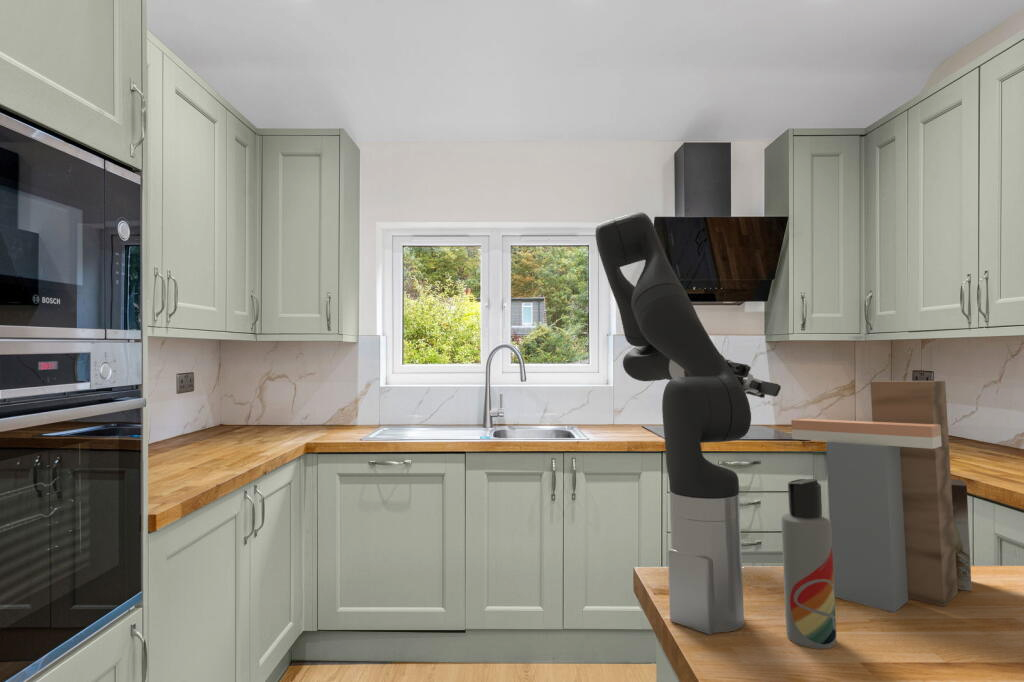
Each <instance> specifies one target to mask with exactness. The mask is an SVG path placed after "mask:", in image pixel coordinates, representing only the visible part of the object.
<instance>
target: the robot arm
mask: <svg viewBox="0 0 1024 682" xmlns="http://www.w3.org/2000/svg"><path fill="white" fill-rule="evenodd" d="M595 240H596V247H597V251H598V254H599V257H600V260H601V263H602V264H601V265H602V267H603V269H604V272H605V275H606V278H607V281H608V285H609V286H610V289H611V292H612V295H613V297H614V299H615V302H616V304H617V308H618V310H619V315H620V319H621V324H622V329H623V333H624V334H623V335H624V337H625V340H626V342H628V344H630V345H631V346H633V348H632V349H630V350H629V351H628V352H627V353H626V354H625V355H624V357H623V359H622V366H623V369H624V372H625V374H627V375H628V376H629V377H630V378H631V379H634V380H636V381H640V382H654V381H655V382H656V381H662V380H668V381H667V383H666V385H665V387H664V391H663V394H662V399H661V400H662V404H661V406H662V407H661V409H662V410H661V412H662V414H661V415H662V424H663V434H664V447H665V463H666V470H667V475H668V483H669V484H668V485H669V487H668V488H669V514H670V517H669V518H670V519H669V520H670V547H671V548H670V549H669V550H668V551H667V559H668V560H667V561H668V564H667V565H668V595H669V600H668V602H669V620H670V621H671V622H673V623H676V624H679V625H682V626H685V627H687V628H690V629H692V630H696V631H699V632H701V633H704V634H706V635H713V634H714V633H727V632H732V631H736V630H739V629H741V628H742V627H744V623H745V615H744V614H745V613H744V612H745V611H744V588H743V587H744V586H743V585H744V583H743V563H742V561H743V560H742V559H743V557H742V541H741V540H742V537H741V511H740V508H741V507H740V506H741V505H740V483H739V481H740V480H739V476H738V474H737V472H736V471H733V470H732V469H729V468H726V467H725V466H720V465H717V464H715V463H712V462H711V461H709V459H706V458H705V457H704V455H703V451H702V445H701V443H702V444H703V443H705V444H706V443H727V442H733V441H738V440H741V439H742V438H743V437H745V436H746V435H747V434H748V432H749V430H750V428H751V423H752V412H751V405H750V402H749V399H748V395H750V396H754V397H758V398H761V399H762V398H763V399H765V396H766V395H767V396H770V397H771V396H772V397H777V396H779V393H780V391H781V389H782V388H781V387H782V386H781V385H780V384H778V383H774V382H770V381H764V380H761V379H758V378H755V377H754V375H753V374H752V373H750V371H751V366H750V365H749V364H746V363H739V362H735V361H732V360H730V359H726V357H724V355H722V353H720V351H719V350H718V349H717V347H716V345H715V344H714V342H713V340H712V339H711V337H710V336H709V334H708V332H707V331H706V329H705V327H704V325H703V322H701V320H700V318H699V316H698V313H697V312H696V309H695V308H694V305H693V303H692V301H691V299H690V297H689V296H688V293H687V292H686V290H685V288H684V286H683V285H682V283H681V282H680V279H679V278H678V276H677V274H676V273H675V270H674V269H673V267H672V266H671V263H670V261H669V259H668V257H667V253H666V252H665V250H664V247H663V245H662V242H661V240H660V237H659V234H658V233H657V230H656V227H655V226H654V223H653V222H652V220H651V218H650V217H649V215H648V214H646V213H645V212H642V211H640V212H639V211H636V212H631V213H629V214H625V215H622V216H619V217H615V218H612V219H608V220H605V221H603V222H601V223H599V224H598V225H597V226H596V228H595ZM642 261H645V263H644V267H643V268H642V271H641V273H640V275H639V277H638V280H636V281H637V282H636V284H635V285H633V284H632V283H631V282H630V281H629V280H628V278H627V277H625V275H624V274H623V272H622V269H621V267H625V266H629V265H632V264H636V263H638V262H642ZM745 378H746V379H745Z"/></svg>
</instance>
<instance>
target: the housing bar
mask: <svg viewBox="0 0 1024 682" xmlns="http://www.w3.org/2000/svg"><path fill="white" fill-rule="evenodd" d="M790 423H791V439H792V440H804V441H805V440H806V441H814V442H815V441H817V442H818V441H819V442H820V441H821V442H828V441H830V442H844V443H858V444H872V445H886V446H901V447H915V448H929V449H934V448H937V447H941V446H942V443H941V426H940V425H936V424H914V423H891V422H872V421H867V420H861V421H860V420H843V419H842V420H840V419H819V418H817V419H815V418H797V419H791V421H790Z"/></svg>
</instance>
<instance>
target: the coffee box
mask: <svg viewBox="0 0 1024 682" xmlns="http://www.w3.org/2000/svg"><path fill="white" fill-rule="evenodd" d="M951 488H952V505H953V522H954V538H955V555H956V572H957V589H958V590H961V591H968V592H972V589H973V588H972V586H973V585H972V573H971V572H972V569H971V567H972V566H971V549H970V547H971V546H970V544H971V543H970V530H969V527H970V526H969V506H968V504H969V503H968V486H967V483H966V482H965V481H963V480H962V479H956V478H955V479H954V478H951Z"/></svg>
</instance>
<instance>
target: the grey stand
mask: <svg viewBox="0 0 1024 682" xmlns="http://www.w3.org/2000/svg"><path fill="white" fill-rule="evenodd" d="M825 447H826V448H825V451H826V472H827V488H828V489H827V490H828V491H827V492H828V496H827V497H828V510H829V511H828V513H829V518H828V519H829V520H830V521H831V532H832V553H833V574H834V595H835V598H836V599H837V598H838V599H840V600H844V601H848V602H853V603H856V604H860V605H864V606H868V607H871V608H876V609H880V610H883V611H888V612H891V613H896V611H898V610H899V609H900V608H902V607H903V606H904V605H906V604H907V603H908V602H909V598H908V588H907V569H906V551H905V533H904V514H903V496H902V477H901V459H900V446H886V445H872V444H858V443H844V442H830V441H825Z"/></svg>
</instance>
